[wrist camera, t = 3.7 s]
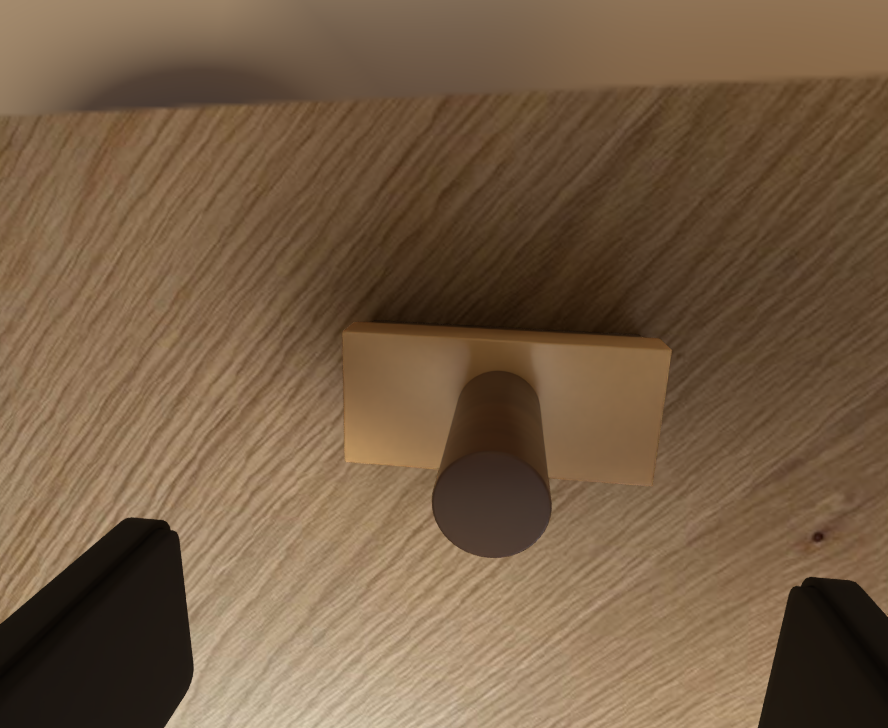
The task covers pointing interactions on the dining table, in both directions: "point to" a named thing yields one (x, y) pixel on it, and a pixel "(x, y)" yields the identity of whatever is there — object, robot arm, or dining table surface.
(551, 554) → the dining table surface
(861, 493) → the dining table surface
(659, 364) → the peg on base plate
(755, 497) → the dining table surface
